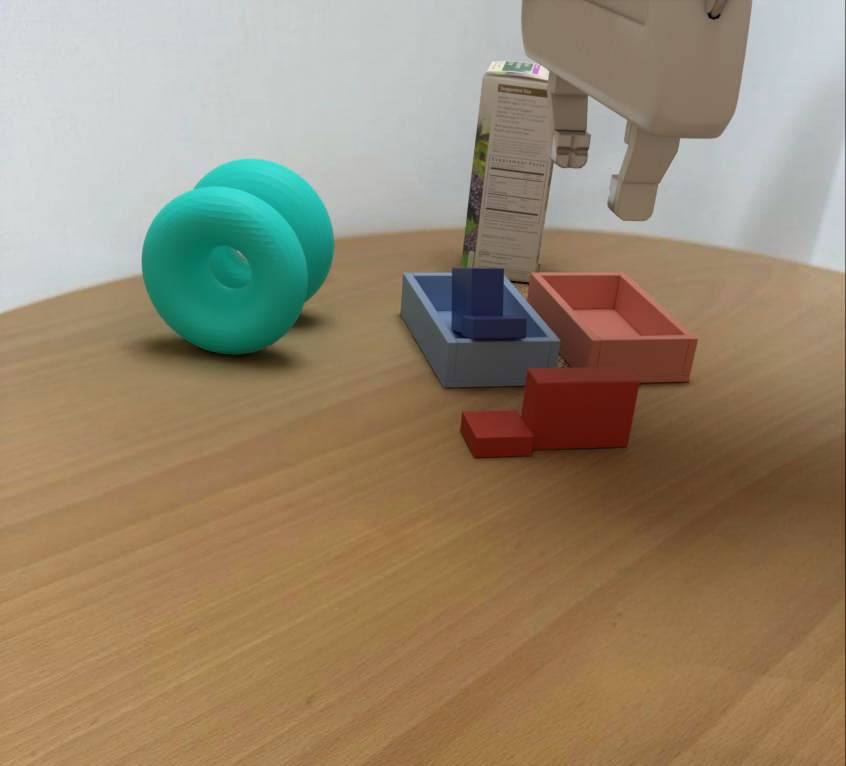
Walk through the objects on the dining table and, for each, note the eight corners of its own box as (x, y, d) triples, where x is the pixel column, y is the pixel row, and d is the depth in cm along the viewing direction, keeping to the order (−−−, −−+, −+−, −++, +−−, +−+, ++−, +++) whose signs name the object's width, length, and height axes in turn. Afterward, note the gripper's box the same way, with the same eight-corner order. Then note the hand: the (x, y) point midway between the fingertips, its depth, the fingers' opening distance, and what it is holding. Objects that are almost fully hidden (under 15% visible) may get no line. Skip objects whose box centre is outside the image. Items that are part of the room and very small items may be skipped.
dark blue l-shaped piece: (526, 338, 68) (528, 268, 67) (473, 339, 67) (474, 268, 66) (489, 329, 76) (490, 267, 75) (442, 330, 76) (442, 267, 75)
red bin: (617, 311, 82) (624, 271, 81) (689, 381, 72) (698, 338, 71) (525, 312, 81) (530, 272, 79) (585, 384, 71) (592, 340, 69)
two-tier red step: (474, 457, 61) (482, 388, 59) (459, 430, 64) (466, 363, 62) (632, 452, 63) (645, 385, 61) (611, 426, 66) (623, 361, 64)
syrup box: (467, 253, 91) (486, 57, 84) (541, 262, 91) (567, 66, 83) (459, 276, 86) (479, 70, 79) (538, 285, 86) (565, 79, 78)
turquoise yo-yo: (138, 349, 70) (129, 183, 65) (192, 295, 78) (188, 145, 73) (298, 372, 69) (302, 205, 64) (335, 315, 78) (341, 163, 72)
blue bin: (497, 312, 80) (502, 272, 79) (554, 385, 70) (561, 340, 69) (400, 313, 79) (402, 272, 77) (443, 388, 69) (447, 342, 67)
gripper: (823, -104, 43) (741, 256, 51) (629, -130, 60) (589, 143, 67) (667, -118, 42) (606, 254, 49) (514, -140, 59) (485, 139, 66)
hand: (595, 189), depth 58 cm, fingers open, 8 cm apart
